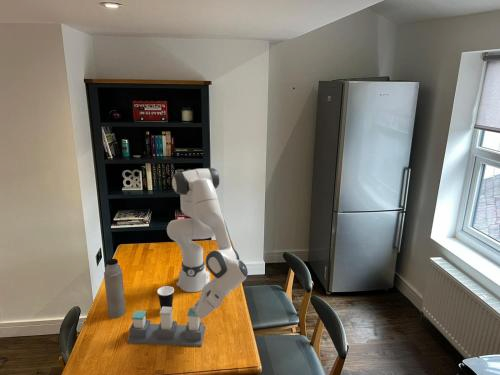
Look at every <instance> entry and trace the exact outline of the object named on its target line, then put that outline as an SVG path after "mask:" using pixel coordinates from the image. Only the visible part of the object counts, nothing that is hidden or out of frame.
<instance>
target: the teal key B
mask: <svg viewBox="0 0 500 375" xmlns="http://www.w3.org/2000/svg"><path fill="white" fill-rule="evenodd" d="M192 309H193V307H189V309H188V312H187V317H188V321H189V331H198V330H199V326H200V322H201V320H200V318H199V317H198V316H197V315H196V314H195V312H194V311H193V310H192Z"/></svg>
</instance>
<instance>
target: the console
mask: <svg viewBox="0 0 500 375" xmlns="http://www.w3.org/2000/svg"><path fill="white" fill-rule="evenodd" d="M177 323H178V321H177V320H173V325H172V328H171V330H167V329H161V321H160V322H159V323H151V319H146V325H145V327H144V328H134V323H133V322H132V323H131V325H130V327H129V329H128V330H129V336H128V337H127V339H126V343H127V344H141V345H143V344H144V345H160V346H161V345H162V346H183V347H184V346H185V347H202V344H203V342H204V335H205V332H206V328H207V327H206V325H204V322H203V321H200V326H199V330H198V331H189V320H188V321H187V323H186V324H177Z"/></svg>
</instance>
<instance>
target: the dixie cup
mask: <svg viewBox="0 0 500 375" xmlns="http://www.w3.org/2000/svg"><path fill="white" fill-rule="evenodd" d="M174 292H175V289H174V287H173V286H169V285H167V286H165V285H163V286H162V287H159V288H158V289H157V292H156V293H157V296H158V301H159V306H160V310H161V309H162V307H173V301H174V300H173V299H174Z"/></svg>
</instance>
